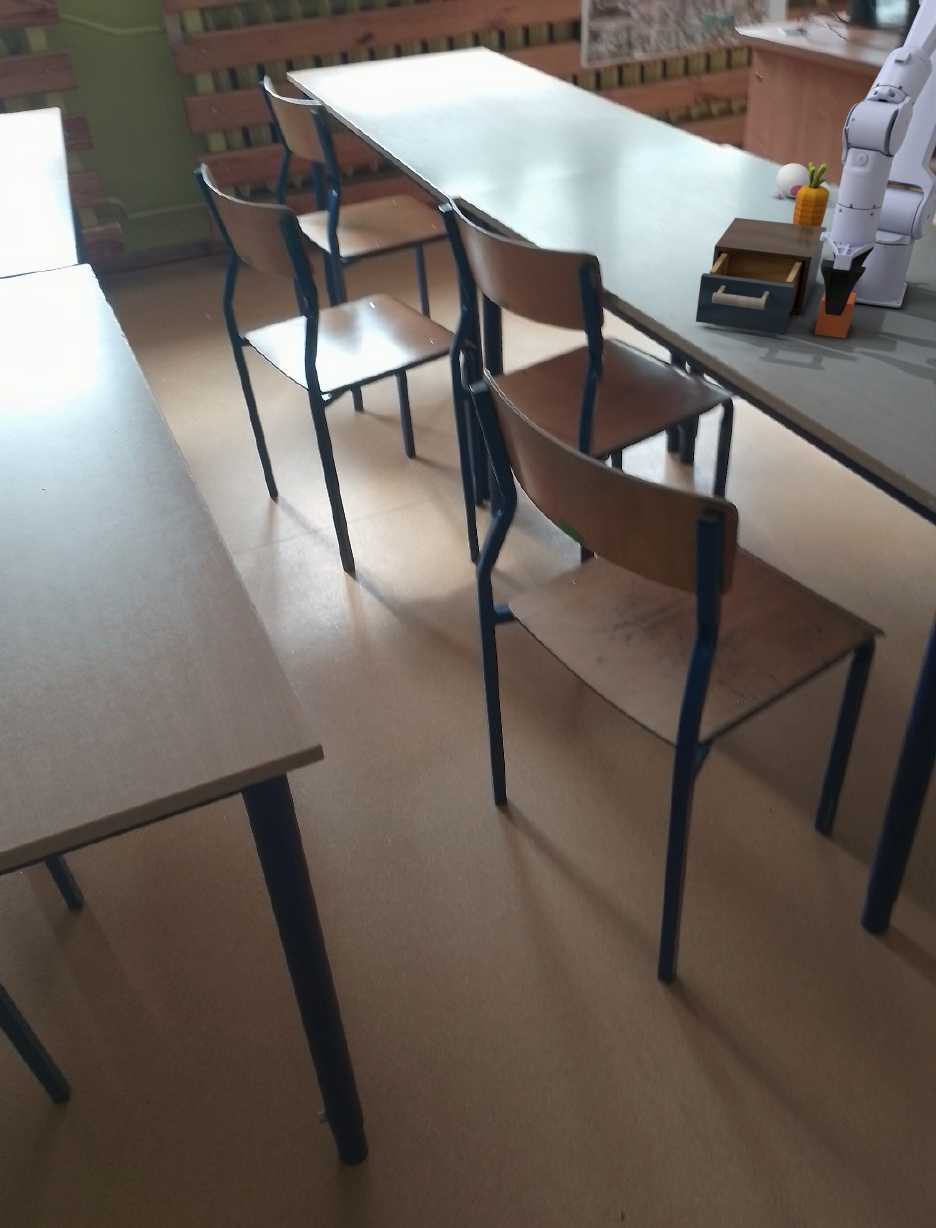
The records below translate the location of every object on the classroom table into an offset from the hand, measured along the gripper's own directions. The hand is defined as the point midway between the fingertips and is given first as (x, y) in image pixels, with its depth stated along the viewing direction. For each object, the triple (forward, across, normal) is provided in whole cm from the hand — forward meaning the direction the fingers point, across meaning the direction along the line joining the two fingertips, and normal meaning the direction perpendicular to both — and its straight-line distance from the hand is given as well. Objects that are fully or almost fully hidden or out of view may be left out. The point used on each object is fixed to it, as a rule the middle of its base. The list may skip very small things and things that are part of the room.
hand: (837, 304), depth 137 cm
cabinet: (+4, -11, -12) cm, 17 cm away
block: (+4, 0, 0) cm, 4 cm away
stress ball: (+4, -60, -16) cm, 62 cm away
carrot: (+4, -27, -9) cm, 29 cm away
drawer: (+3, +2, -12) cm, 13 cm away
